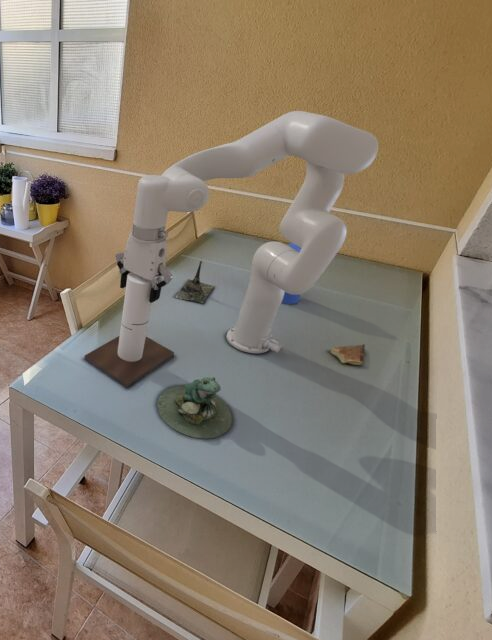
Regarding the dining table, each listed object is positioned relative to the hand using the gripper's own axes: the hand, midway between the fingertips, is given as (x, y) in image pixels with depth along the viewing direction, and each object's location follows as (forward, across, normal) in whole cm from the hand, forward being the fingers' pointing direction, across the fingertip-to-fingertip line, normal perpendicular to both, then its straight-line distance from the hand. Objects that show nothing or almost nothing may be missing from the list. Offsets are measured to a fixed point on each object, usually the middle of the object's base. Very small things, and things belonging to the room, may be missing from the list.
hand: (138, 293), depth 109 cm
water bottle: (+22, -14, -69) cm, 74 cm away
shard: (+22, -40, -50) cm, 68 cm away
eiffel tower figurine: (+22, +10, -48) cm, 54 cm away
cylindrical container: (+20, 0, 0) cm, 20 cm away
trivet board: (+22, 0, 0) cm, 22 cm away
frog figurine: (+22, -24, +4) cm, 33 cm away
